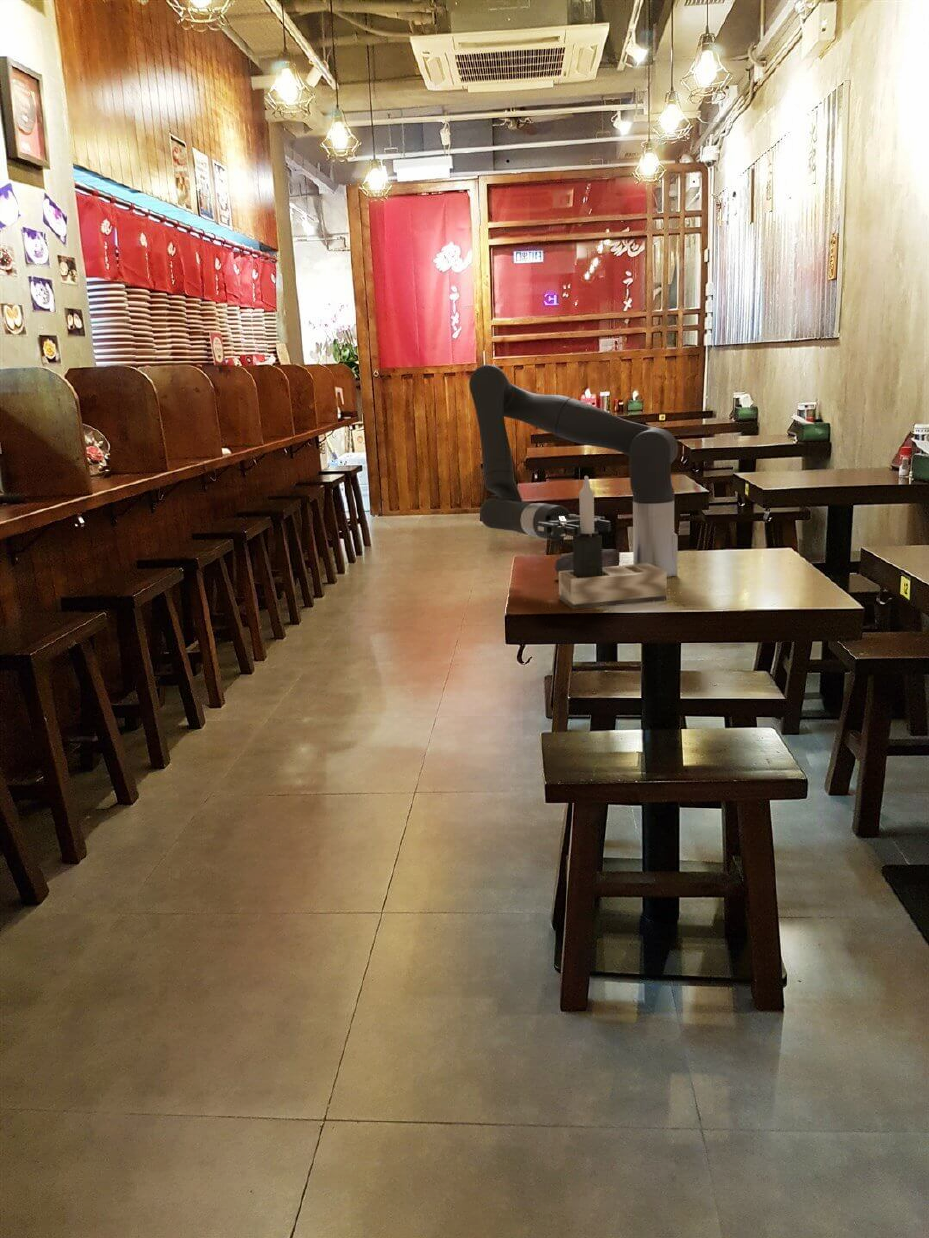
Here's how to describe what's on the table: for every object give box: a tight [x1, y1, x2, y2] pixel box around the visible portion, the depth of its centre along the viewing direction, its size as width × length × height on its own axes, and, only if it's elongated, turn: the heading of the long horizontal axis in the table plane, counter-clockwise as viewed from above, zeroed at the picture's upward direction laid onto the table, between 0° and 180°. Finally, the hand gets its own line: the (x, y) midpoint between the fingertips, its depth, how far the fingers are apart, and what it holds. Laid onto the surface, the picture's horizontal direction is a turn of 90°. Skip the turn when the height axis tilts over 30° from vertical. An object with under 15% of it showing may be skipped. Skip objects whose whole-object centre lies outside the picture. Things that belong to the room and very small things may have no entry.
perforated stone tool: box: [554, 548, 621, 575], centre depth 223 cm, size 15×5×7 cm, turn 75°
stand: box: [558, 563, 668, 610], centre depth 201 cm, size 20×10×6 cm, turn 101°
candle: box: [572, 475, 603, 578], centre depth 198 cm, size 5×5×25 cm
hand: (594, 529), depth 196 cm, fingers open, 7 cm apart
